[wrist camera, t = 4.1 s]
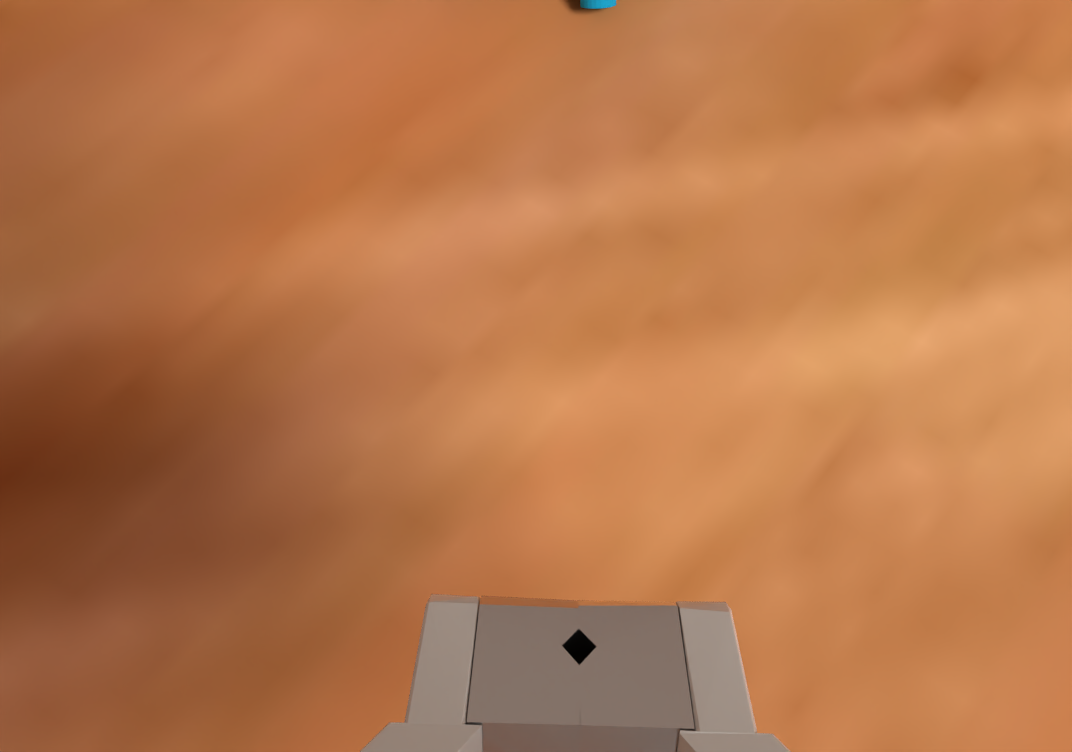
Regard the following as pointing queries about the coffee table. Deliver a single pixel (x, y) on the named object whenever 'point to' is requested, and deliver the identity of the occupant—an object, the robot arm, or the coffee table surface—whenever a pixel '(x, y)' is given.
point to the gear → (597, 3)
